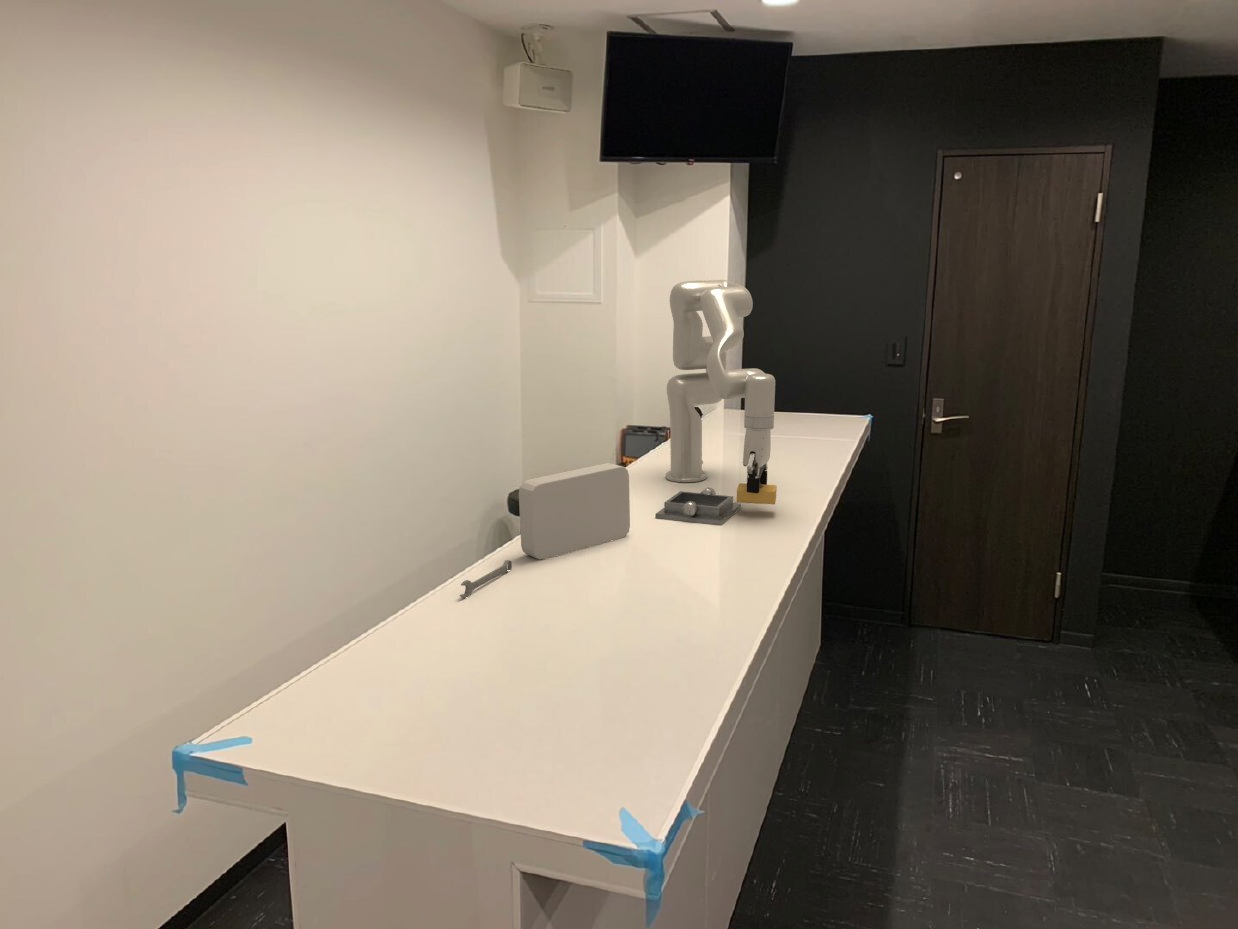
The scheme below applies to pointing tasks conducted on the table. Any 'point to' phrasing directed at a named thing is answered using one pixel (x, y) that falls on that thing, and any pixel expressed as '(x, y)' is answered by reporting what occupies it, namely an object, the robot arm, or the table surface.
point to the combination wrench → (485, 578)
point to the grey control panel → (574, 510)
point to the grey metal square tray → (699, 507)
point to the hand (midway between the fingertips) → (756, 488)
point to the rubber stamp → (763, 497)
